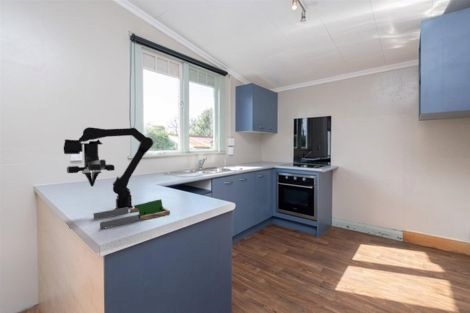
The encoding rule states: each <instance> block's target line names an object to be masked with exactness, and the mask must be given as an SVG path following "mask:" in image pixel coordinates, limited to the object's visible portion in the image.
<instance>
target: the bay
mask: <svg viewBox="0 0 470 313" xmlns="http://www.w3.org/2000/svg"><path fill="white" fill-rule="evenodd" d="M129 212H130V213H134V212H139V210H138V208H134V207H132V208H129ZM166 215H171V210H169V209H168V208H166V207H163V210H162V211H161V212H157V213H154V214H149V215H144V216H140V215H139V220H140V221H143V220H149V219H154V218H158V217H162V216H166Z"/></svg>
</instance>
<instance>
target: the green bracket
mask: <svg viewBox="0 0 470 313" xmlns="http://www.w3.org/2000/svg"><path fill="white" fill-rule="evenodd" d="M133 208H138V210H139V211H138V216H139V217H140V216H144V215H149V214H154V213H159V212H163V211H162V210H163V201H162V199H161V198H160V199H154V200H149V201H147V202H143V203H138V204H134V205H133Z"/></svg>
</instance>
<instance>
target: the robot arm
mask: <svg viewBox="0 0 470 313" xmlns="http://www.w3.org/2000/svg"><path fill="white" fill-rule="evenodd" d="M125 136H126V137H128V136H132V137H133V138H134V139H135V140H136V141H138V142H139V144H138V147H137V149H136V152H135V154H134V156H132V159H131V160H130V162H129V164H128V165H127V167H126V168H125V170H124V172H123V173H122V174H121V175H120V176H116V178H115V181H113V182H112V191H113V192H114V194H117V195H116V198H115V207H116V209H121V208H126V207H128V209H132V208H134V205H133V204H132V200H133V199H132V193H131V190H130V189H129V188H128V187H127V186H128V185H129V183H130V182H129V181H130V179H131V177H132V176H133V173H134V172H135V170H136V168H137V167H138V165H139V164H140V162H141V161H142V158H143V157H144V155H145V154H146V153H147V152H148V151H149V150H151V148H152V147H153V146H154V140H153V139H152V138H151V137H149V136H145V134H143V133H142V132H140V131H139V130H138V129H137V128H136V127H131V128H130V127H128V128H107V129H105V128H99V127H91V126H90V127H85V128H84V129H83V131H82V135H81V136H80V137H79V138H78V139H64V144H63V153H64V155H80V154H81V153H82V152H83V160H84V163H83V164H84V166H82V167H80V166H78V165H71V166H70V165H68V166H67V167H66V173H67V174H77V173H79V172H81V174H82V175H84V176H85V177H86V179H87V181H88V183H89V185H90V187H94V185H95V183H96V180H97V177H98V176H99V175H100V174H102V171H103V170H104V171H108V172H109V171H110V172H111V171H115V165H114V164H111V163H109V164H107V161H106V159H100V156H99V145H103V143H102V142H101V141H100V139H102V138H103V139H104V138H107V137H109V138H111V137H125ZM87 142H88V143H87Z"/></svg>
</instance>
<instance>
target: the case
mask: <svg viewBox="0 0 470 313" xmlns="http://www.w3.org/2000/svg"><path fill="white" fill-rule="evenodd" d="M129 212H130V211H129V208H128V207H126V208H121V209H118V208H115V209H110V210H104V211H99V212H98V211H97V212H93V214H92V215H93V220H98V219H102V218H108V217H113V216H118V215H119V216H120V215H124V214H128V213H129ZM139 220H140V218H139V214H133V215H128V216H123V217H118V218H114V219H113V218H112V219H109V220H104V221H99V228H103V229H106V228H105V227H108V228H112V227H118V226H120V225H125V224H129V223H134V222H139ZM111 226H112V227H111Z"/></svg>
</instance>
